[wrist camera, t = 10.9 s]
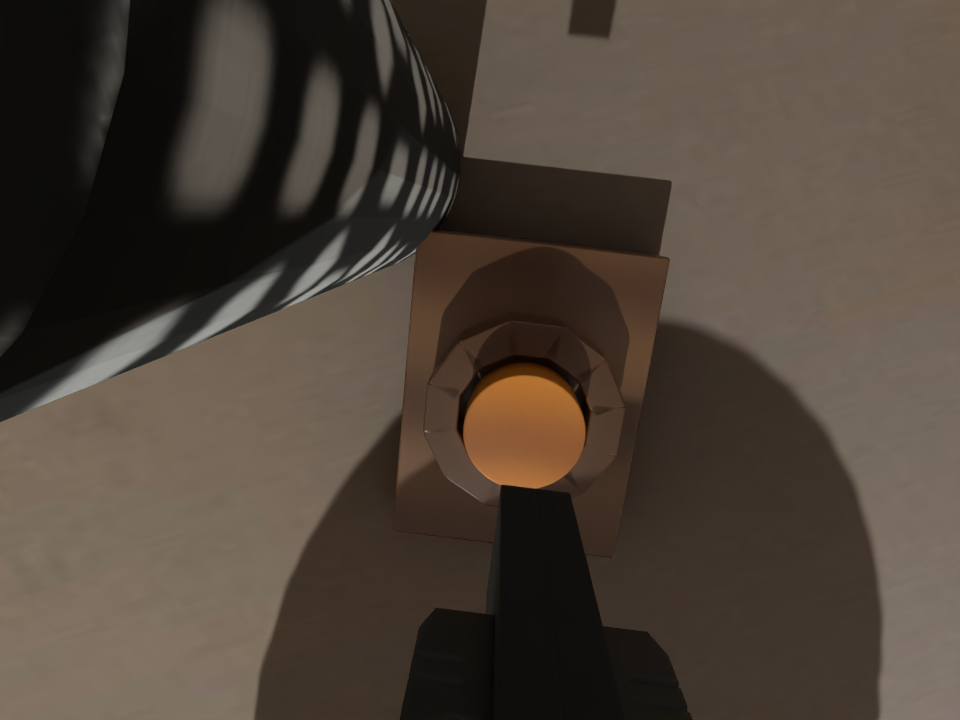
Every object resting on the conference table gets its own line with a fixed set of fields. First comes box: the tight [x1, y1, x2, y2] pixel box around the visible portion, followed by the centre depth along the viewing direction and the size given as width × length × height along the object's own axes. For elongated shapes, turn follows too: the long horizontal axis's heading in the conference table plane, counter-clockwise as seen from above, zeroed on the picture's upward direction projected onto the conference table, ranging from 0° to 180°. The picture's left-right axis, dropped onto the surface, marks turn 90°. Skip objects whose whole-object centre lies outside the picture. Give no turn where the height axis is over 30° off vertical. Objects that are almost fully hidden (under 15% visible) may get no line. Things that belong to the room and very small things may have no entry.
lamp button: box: [463, 362, 586, 489], centre depth 20 cm, size 4×4×2 cm
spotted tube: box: [0, 0, 461, 422], centre depth 13 cm, size 8×8×20 cm
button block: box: [393, 229, 670, 558], centre depth 22 cm, size 12×9×4 cm
